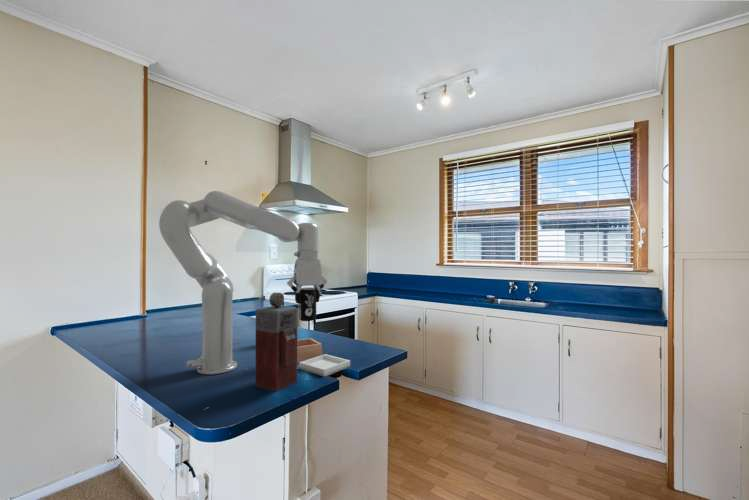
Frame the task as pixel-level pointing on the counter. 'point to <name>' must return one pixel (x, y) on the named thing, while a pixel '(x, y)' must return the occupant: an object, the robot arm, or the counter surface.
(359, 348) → the counter surface
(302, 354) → the holder
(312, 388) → the counter surface
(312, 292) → the beverage can
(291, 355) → the red decanter
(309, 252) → the robot arm
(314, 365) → the tray
